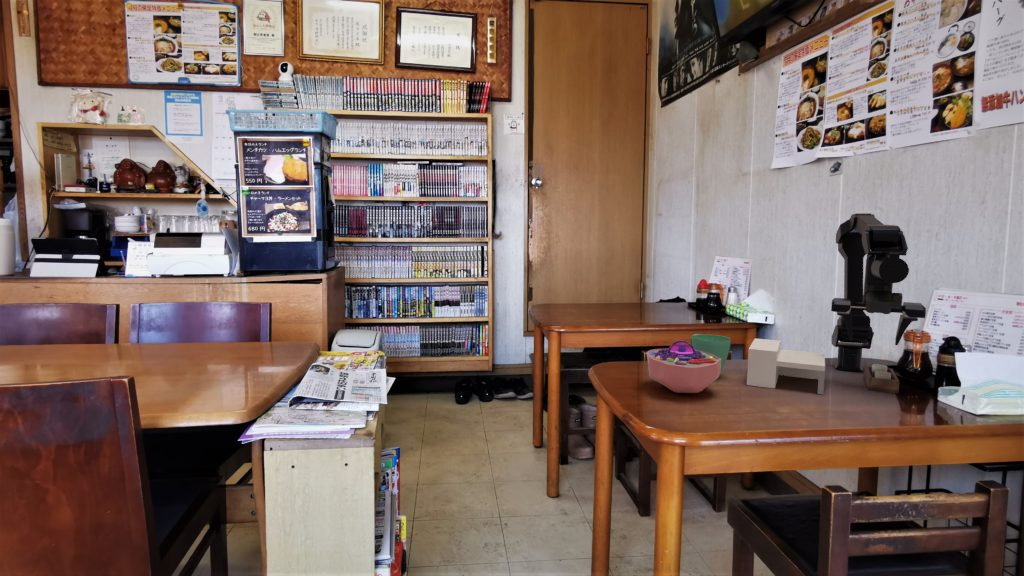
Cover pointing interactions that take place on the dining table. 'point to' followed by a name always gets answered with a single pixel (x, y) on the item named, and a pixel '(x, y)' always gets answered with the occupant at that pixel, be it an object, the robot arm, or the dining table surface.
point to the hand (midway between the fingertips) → (873, 342)
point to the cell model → (683, 367)
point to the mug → (712, 345)
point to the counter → (782, 364)
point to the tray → (881, 379)
